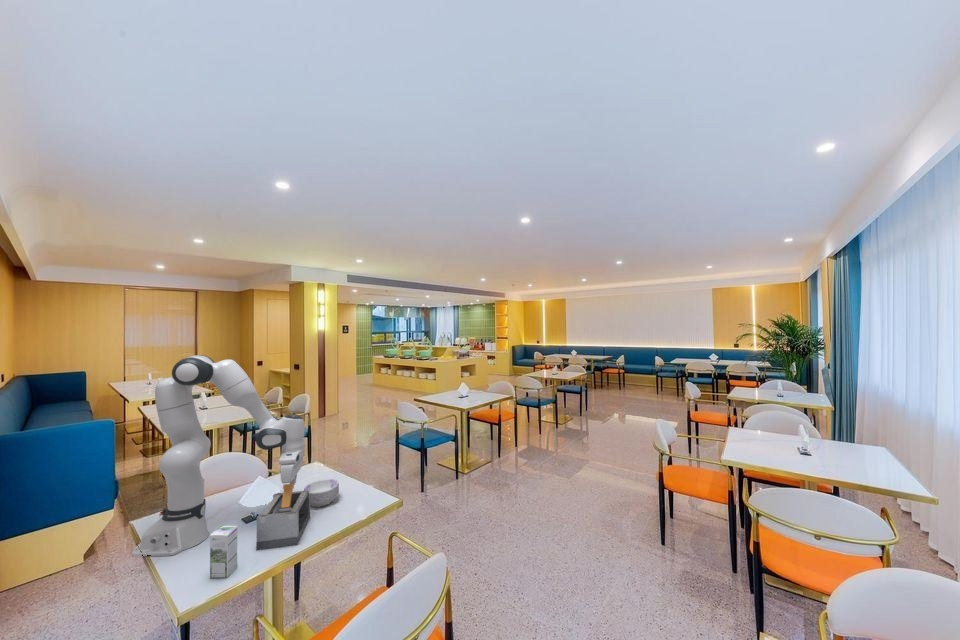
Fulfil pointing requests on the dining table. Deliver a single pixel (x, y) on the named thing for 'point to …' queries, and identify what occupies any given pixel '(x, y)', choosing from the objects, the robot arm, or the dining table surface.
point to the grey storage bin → (283, 522)
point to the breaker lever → (286, 498)
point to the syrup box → (223, 551)
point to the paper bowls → (322, 491)
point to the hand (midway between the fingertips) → (292, 484)
